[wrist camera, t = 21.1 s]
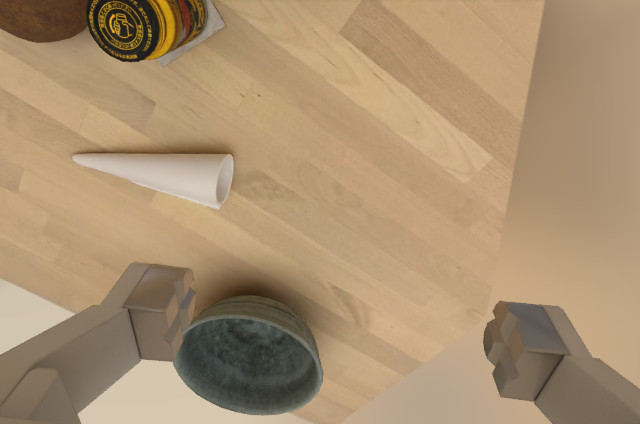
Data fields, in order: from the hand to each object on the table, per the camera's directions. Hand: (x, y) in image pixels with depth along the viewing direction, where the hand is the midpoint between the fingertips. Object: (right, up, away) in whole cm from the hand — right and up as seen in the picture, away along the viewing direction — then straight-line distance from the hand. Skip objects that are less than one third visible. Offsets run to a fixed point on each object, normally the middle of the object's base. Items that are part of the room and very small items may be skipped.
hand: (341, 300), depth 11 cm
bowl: (-10, -14, +51) cm, 54 cm away
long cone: (-21, +9, +38) cm, 44 cm away
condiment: (-15, +22, +29) cm, 40 cm away
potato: (-27, +24, +29) cm, 46 cm away
